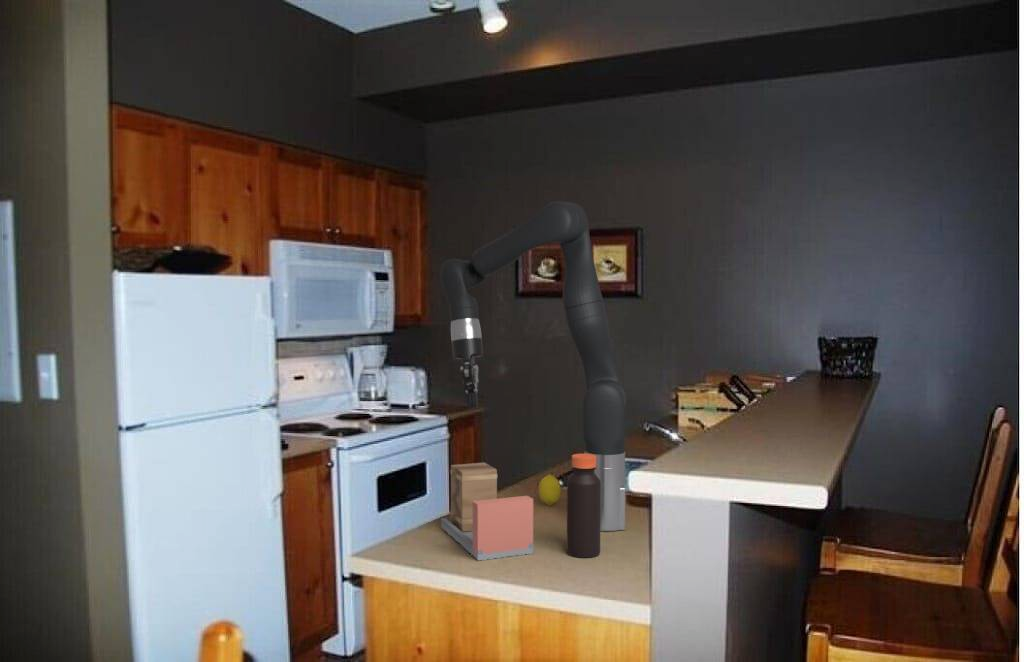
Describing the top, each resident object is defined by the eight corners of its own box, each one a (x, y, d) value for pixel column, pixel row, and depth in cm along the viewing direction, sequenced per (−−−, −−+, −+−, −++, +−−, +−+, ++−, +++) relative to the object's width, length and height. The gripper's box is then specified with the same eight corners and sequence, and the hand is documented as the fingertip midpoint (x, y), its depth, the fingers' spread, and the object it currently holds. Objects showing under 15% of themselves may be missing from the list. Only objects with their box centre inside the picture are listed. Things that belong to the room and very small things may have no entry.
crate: (450, 522, 175) (450, 465, 175) (484, 518, 178) (484, 462, 178) (462, 531, 168) (462, 472, 167) (497, 527, 171) (497, 469, 170)
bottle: (565, 557, 155) (566, 458, 154) (568, 547, 162) (568, 452, 161) (599, 559, 154) (600, 459, 153) (600, 548, 161) (601, 453, 160)
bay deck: (441, 528, 175) (441, 518, 175) (490, 522, 180) (490, 513, 180) (477, 561, 153) (477, 550, 153) (533, 553, 157) (533, 542, 157)
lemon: (558, 509, 191) (558, 477, 191) (536, 508, 193) (536, 476, 192) (561, 503, 197) (561, 472, 197) (540, 502, 198) (540, 471, 198)
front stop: (472, 550, 156) (472, 501, 155) (527, 543, 160) (527, 495, 160) (477, 554, 153) (477, 504, 152) (533, 547, 157) (533, 499, 157)
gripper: (478, 333, 185) (485, 406, 183) (484, 339, 198) (491, 407, 196) (447, 337, 185) (453, 409, 183) (455, 343, 198) (462, 410, 196)
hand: (473, 408), depth 189 cm, fingers closed
